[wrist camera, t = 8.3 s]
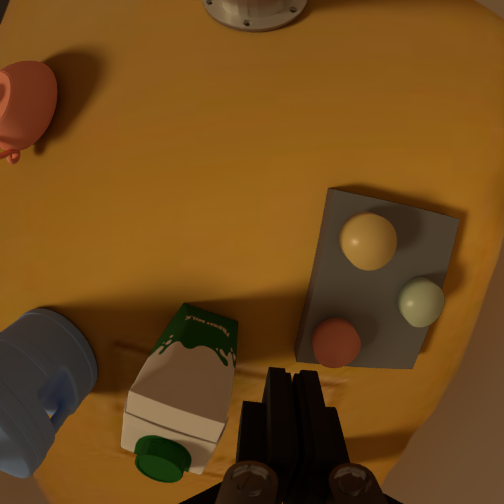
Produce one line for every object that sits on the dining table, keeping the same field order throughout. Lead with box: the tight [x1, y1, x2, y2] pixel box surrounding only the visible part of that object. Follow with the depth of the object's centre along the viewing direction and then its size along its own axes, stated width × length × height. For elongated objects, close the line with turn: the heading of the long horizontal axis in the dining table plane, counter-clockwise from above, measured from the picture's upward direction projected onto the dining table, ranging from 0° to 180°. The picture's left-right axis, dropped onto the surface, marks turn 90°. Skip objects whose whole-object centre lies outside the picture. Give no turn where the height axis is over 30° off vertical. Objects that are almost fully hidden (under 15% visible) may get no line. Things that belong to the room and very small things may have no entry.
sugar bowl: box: [0, 61, 58, 164], centre depth 28 cm, size 12×14×10 cm
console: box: [294, 188, 459, 369], centre depth 35 cm, size 20×16×3 cm
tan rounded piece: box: [339, 212, 397, 271], centre depth 30 cm, size 5×5×5 cm
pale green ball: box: [397, 277, 445, 327], centre depth 33 cm, size 5×5×5 cm
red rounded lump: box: [311, 317, 361, 368], centre depth 35 cm, size 5×5×5 cm
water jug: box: [0, 308, 97, 478], centre depth 28 cm, size 16×16×28 cm
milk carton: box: [121, 303, 238, 483], centre depth 29 cm, size 9×9×20 cm
